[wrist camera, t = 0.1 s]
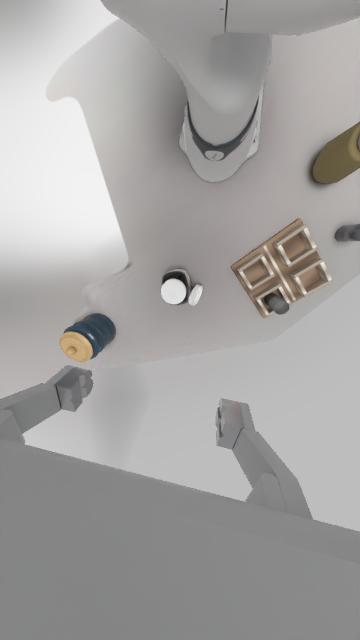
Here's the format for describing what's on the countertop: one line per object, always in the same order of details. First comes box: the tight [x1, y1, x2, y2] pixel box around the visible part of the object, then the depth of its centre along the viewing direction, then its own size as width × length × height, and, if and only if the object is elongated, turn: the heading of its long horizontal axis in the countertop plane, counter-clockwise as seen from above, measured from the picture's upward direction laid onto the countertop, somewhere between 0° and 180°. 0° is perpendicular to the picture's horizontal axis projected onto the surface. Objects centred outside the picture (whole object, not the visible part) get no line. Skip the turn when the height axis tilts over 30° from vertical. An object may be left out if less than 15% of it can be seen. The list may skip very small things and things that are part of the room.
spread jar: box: [161, 269, 203, 306], centre depth 51 cm, size 12×11×12 cm
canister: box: [60, 314, 115, 362], centre depth 60 cm, size 13×13×18 cm
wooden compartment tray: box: [231, 218, 333, 318], centre depth 46 cm, size 20×20×10 cm
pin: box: [335, 224, 360, 241], centre depth 40 cm, size 4×4×9 cm
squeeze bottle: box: [312, 122, 360, 184], centre depth 32 cm, size 8×8×18 cm
